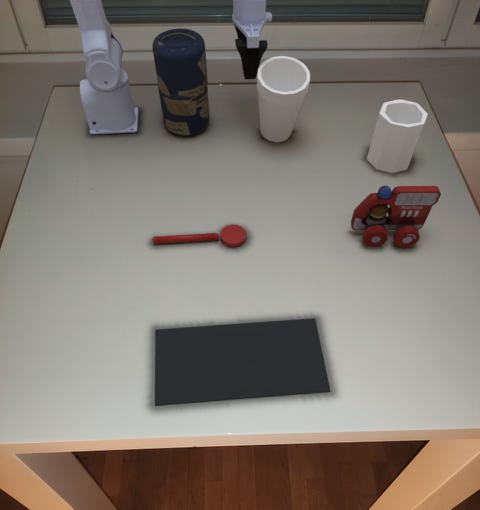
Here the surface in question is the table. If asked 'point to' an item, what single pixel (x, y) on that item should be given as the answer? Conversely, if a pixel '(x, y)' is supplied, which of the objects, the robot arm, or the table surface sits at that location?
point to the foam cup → (281, 95)
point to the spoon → (209, 237)
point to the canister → (182, 80)
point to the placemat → (238, 361)
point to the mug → (396, 135)
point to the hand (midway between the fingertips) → (248, 67)
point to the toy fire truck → (394, 214)
